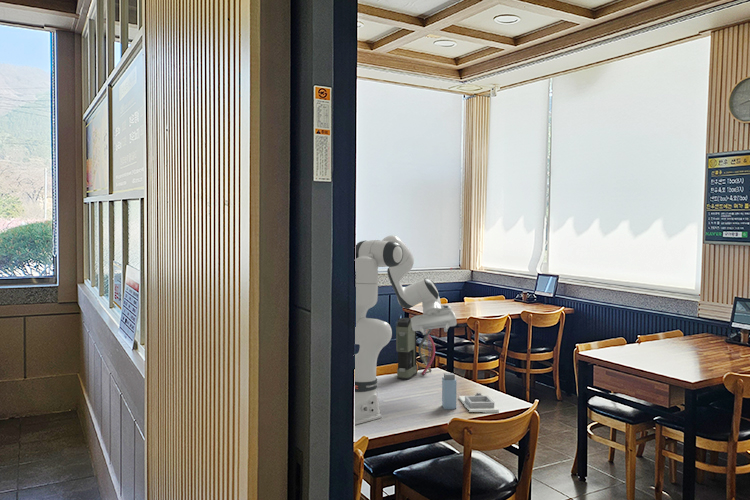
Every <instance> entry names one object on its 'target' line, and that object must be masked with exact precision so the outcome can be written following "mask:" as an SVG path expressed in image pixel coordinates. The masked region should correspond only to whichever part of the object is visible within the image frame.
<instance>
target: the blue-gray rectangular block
mask: <svg viewBox="0 0 750 500" xmlns="http://www.w3.org/2000/svg"><path fill="white" fill-rule="evenodd" d="M441 379H442V380H441V382H442V383H441V389H442V390H441V406H442V407H443V409H444V410H456V409H457V379H456V374H454V373H453V372H450V373H449V372H444V373H443V377H442V378H441ZM455 408H456V409H455Z"/></svg>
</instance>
